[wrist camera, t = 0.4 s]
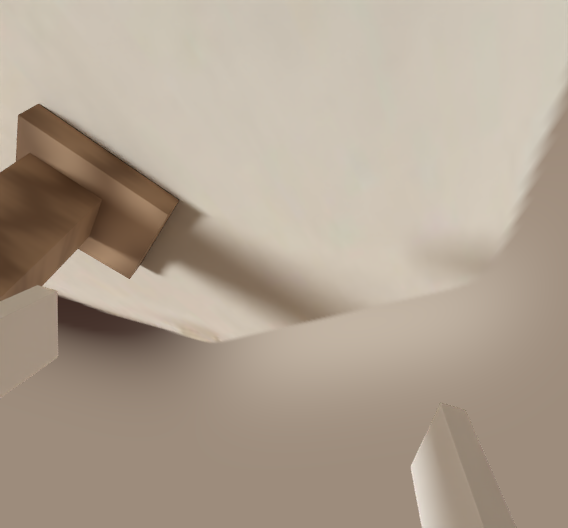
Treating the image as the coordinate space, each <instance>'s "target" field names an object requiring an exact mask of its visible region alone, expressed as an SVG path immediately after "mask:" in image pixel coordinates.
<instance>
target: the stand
mask: <svg viewBox="0 0 568 528" xmlns="http://www.w3.org/2000/svg"><path fill="white" fill-rule="evenodd" d="M178 202H179V200H178V199H177V198H175V197H174V196H172V195H171V194H169V193H168V192H166V191H165V190H163V189H162V188H160V187H159V186H158V185H156V184H155V183H153V182H152V181H150V180H149V179H147V178H146V177H144V176H143V175H142V174H140V173H139V172H137V171H136V170H134V169H133V168H131V167H130V166H128V165H127V164H126V163H124V162H123V161H121V160H120V159H118V158H117V157H115V156H114V155H112V154H111V153H109V152H108V151H107V150H105V149H104V148H102V147H101V146H99V145H98V144H96V143H95V142H93V141H92V140H91V139H89V138H88V137H86V136H85V135H83V134H82V133H80V132H79V131H77V130H76V129H75V128H73V127H72V126H70V125H69V124H67V123H66V122H64V121H63V120H61V119H60V118H58V117H57V116H56V115H54V114H53V113H51V112H50V111H48V110H47V109H45V108H44V107H42V106H41V105H40V104H37V105H35V106H34V107H32V108H30V109H28V110H26V111H25V112H23V113H21V114H19V115H18V129H17V149H16V162H15V163H14V164H12V165H11V166H9V167H8V168H6V169H5V170H3V171H2V172H0V301H2V300H4V299H7V298H9V297H11V296H14V295H16V294H18V293H20V292H23V291H25V290H27V289H30V288H32V287H34V286H36V285H39V286H43V284H44V283H45V282H46V281H47V280H48V279H49V278H50V277H51V276H52V275H53V274H54V273H55V272H56V271H57V270H58V269H59V268H60V267H61V266H62V265H63V264H64V263H65V261H66V260H67V259H68V258H69V257H70V256H71V255H72V254H73V253H74V252H75V251H76V250H77V249H80V250H81V251H83V252H85V253H86V254H88V255H90V256H91V257H93V258H95V259H97V260H98V261H100V262H102V263H103V264H105V265H107V266H108V267H110V268H112V269H113V270H115V271H117V272H119V273H120V274H122V275H124V276H125V277H127V278H129V279H130V278H131V277H132V275H133V274H134V273H135V271H136V270H137V268H138V267H139V266H140V264H141V263H142V261H143V259H144V258H145V256H146V254H147V253H148V251H149V249H150V248H151V246H152V245H153V243H154V241H155V240H156V238H157V236H158V235H159V233H160V231H161V230H162V228H163V226H164V225H165V223H166V222H167V220H168V218H169V217H170V215H171V213H172V212H173V210H174V208H175V207H176V205H177V203H178Z"/></svg>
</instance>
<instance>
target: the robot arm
mask: <svg viewBox="0 0 568 528" xmlns="http://www.w3.org/2000/svg"><path fill="white" fill-rule="evenodd" d="M57 311H58V310H57V291H56V290H53V289H49V288H46V287H42V286H39V285H36V286H34V287H32V288H30V289H27V290H25V291H23V292H20V293H18V294H16V295H14V296H11V297H9V298H7V299H4V300H2V301H0V398H1V397H3V396H4V395H6V394H7V393H8V392H10V391H11V390H12V389H14V388H15V387H17V386H18V385H20V384H21V383H22V382H24V381H25V380H27V379H28V378H29V377H31V376H32V375H34V374H35V373H36V372H38V371H39V370H41V369H42V368H43V367H45V366H46V365H48V364H49V363H50V362H52V361H53V360H55V359H56V358H57V357H58V312H57ZM411 472H412V477H413V482H414V487H415V493H416V498H417V504H418V509H419V514H420V520H421V525H422V528H517V527H516V525H515V523H514V520H513V518H512V516H511V513H510V511H509V509H508V506H507V504H506V502H505V500H504V497H503V495H502V493H501V490H500V488H499V486H498V484H497V481H496V479H495V477H494V474H493V472H492V470H491V468H490V465H489V463H488V461H487V458H486V456H485V454H484V451H483V449H482V447H481V445H480V443H479V440H478V438H477V435H476V433H475V431H474V429H473V426H472V424H471V422H470V419H469V417H468V415H467V413H466V411H465V410H464V409H460V408H456V407H454V406H450V405H447V404H443V403H440V404H439V406H438V409H437V411H436V413H435V415H434V417H433V420H432V422H431V424H430V426H429V428H428V430H427V432H426V435H425V437H424V439H423V441H422V443H421V445H420V448H419V450H418V452H417V454H416V456H415V459H414V461H413V463H412V465H411Z"/></svg>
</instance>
